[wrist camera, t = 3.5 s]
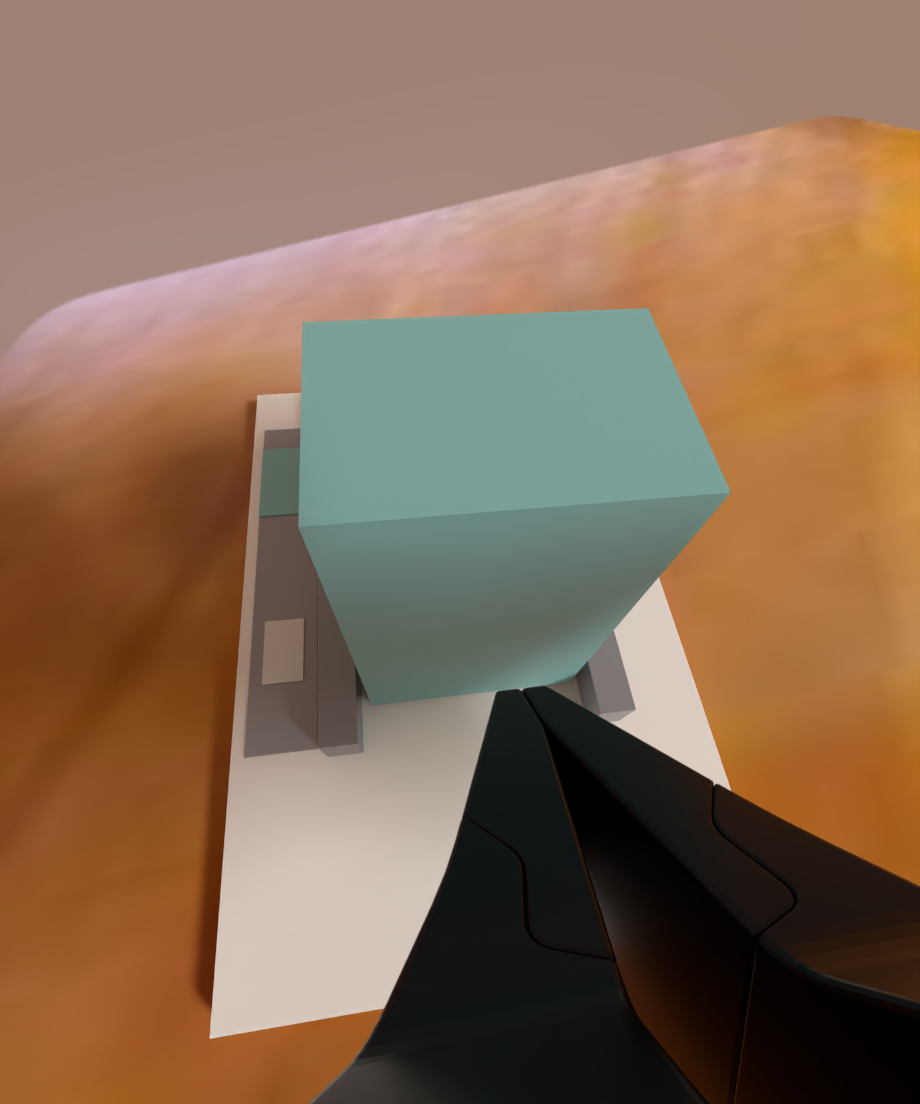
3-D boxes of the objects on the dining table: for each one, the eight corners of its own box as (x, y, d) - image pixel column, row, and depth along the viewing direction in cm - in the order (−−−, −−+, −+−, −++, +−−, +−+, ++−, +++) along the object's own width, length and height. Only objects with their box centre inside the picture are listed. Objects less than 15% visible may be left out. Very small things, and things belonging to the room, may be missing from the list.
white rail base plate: (760, 933, 14) (819, 948, 12) (224, 1025, 13) (183, 1061, 11) (584, 394, 24) (600, 348, 22) (264, 412, 22) (246, 366, 20)
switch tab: (569, 682, 16) (731, 492, 8) (371, 705, 16) (298, 527, 7) (543, 566, 18) (648, 308, 9) (366, 583, 18) (302, 322, 9)
